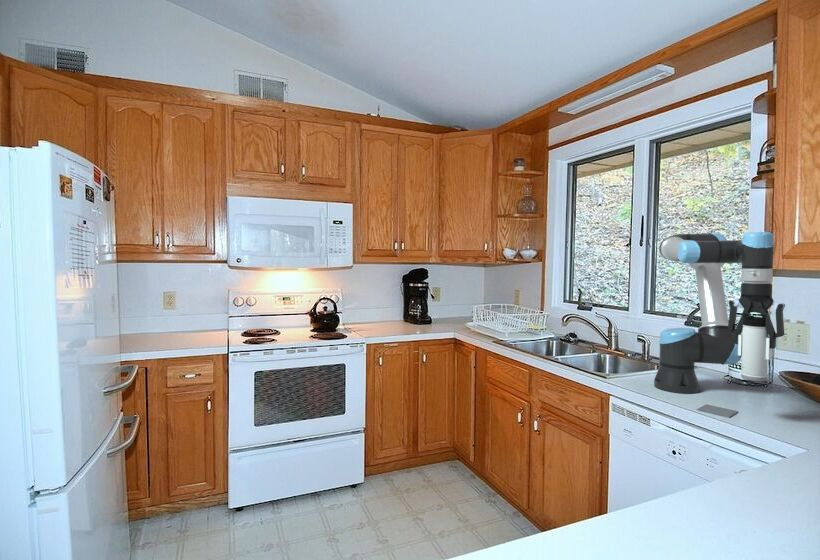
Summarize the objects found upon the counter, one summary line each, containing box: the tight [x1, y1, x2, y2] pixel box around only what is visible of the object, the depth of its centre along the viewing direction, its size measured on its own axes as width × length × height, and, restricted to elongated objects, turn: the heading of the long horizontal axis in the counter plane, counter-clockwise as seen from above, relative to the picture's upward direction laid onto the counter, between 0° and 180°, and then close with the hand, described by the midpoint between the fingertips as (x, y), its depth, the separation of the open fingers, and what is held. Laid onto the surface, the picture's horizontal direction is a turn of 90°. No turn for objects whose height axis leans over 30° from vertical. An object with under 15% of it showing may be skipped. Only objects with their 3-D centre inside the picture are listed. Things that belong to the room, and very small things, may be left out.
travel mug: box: [740, 314, 769, 382], centre depth 134 cm, size 6×7×20 cm
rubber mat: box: [696, 403, 739, 418], centre depth 142 cm, size 8×9×1 cm
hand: (754, 356), depth 134 cm, fingers closed on travel mug, 6 cm apart
